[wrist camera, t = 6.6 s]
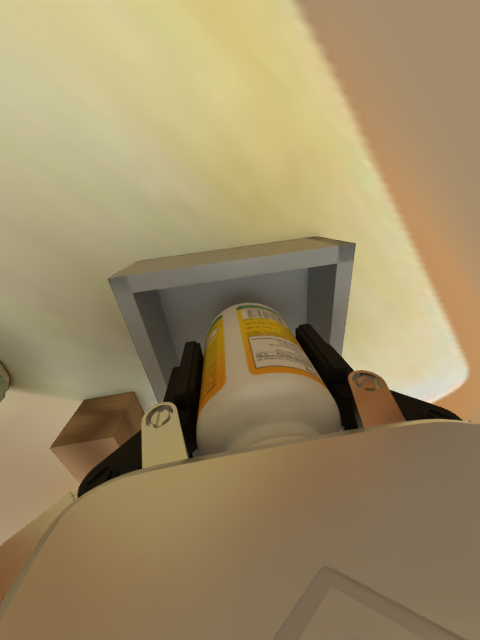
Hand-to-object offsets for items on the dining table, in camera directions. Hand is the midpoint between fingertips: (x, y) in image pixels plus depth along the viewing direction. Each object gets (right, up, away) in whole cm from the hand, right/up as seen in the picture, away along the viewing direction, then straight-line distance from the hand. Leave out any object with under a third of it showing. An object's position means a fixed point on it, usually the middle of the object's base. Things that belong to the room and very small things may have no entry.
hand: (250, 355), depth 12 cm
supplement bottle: (0, +1, +2) cm, 2 cm away
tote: (0, 0, +8) cm, 8 cm away
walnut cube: (-14, -8, +10) cm, 19 cm away
